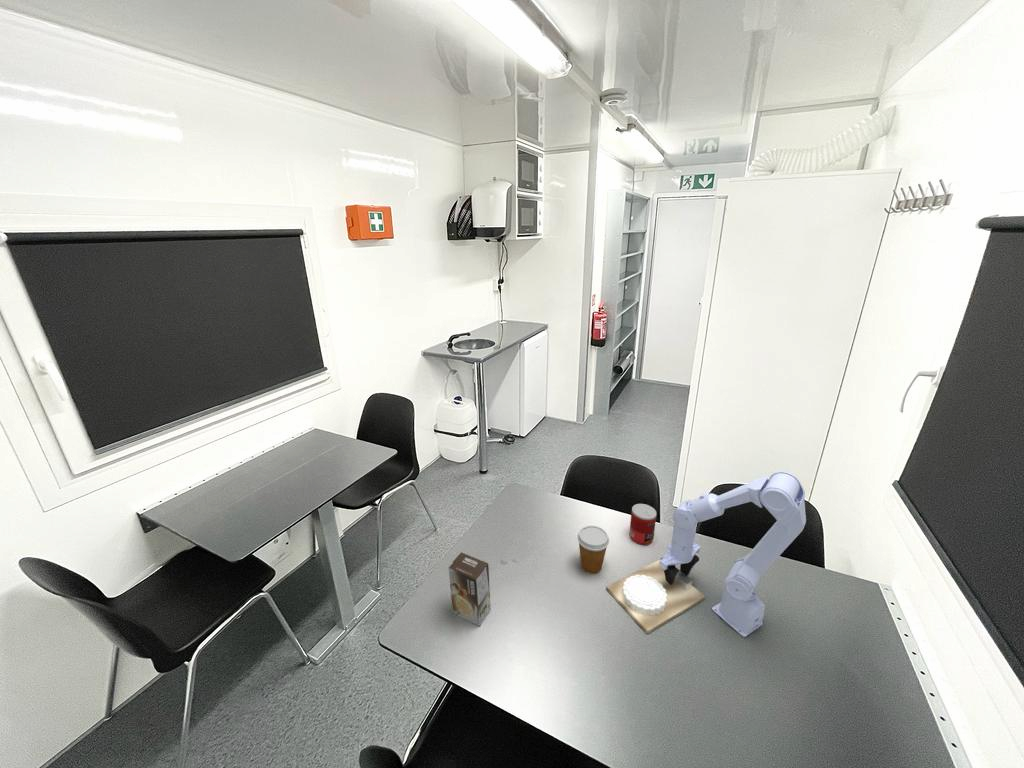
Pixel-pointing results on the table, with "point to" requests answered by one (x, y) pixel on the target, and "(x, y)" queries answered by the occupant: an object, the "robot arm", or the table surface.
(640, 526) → the canned food
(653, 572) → the wooden cutting board
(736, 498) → the robot arm
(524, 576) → the table surface
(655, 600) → the mooncake
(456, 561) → the coffee box
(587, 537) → the disposable coffee cup
